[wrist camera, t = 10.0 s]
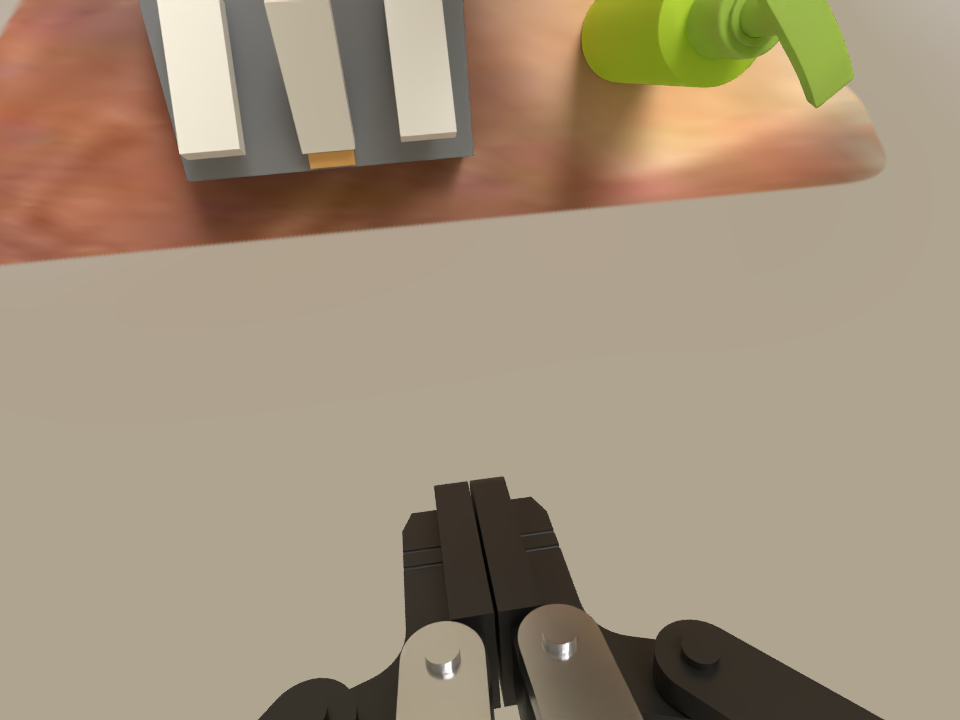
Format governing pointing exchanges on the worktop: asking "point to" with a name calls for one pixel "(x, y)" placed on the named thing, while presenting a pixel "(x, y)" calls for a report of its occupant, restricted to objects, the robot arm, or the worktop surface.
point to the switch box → (366, 86)
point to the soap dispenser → (714, 42)
